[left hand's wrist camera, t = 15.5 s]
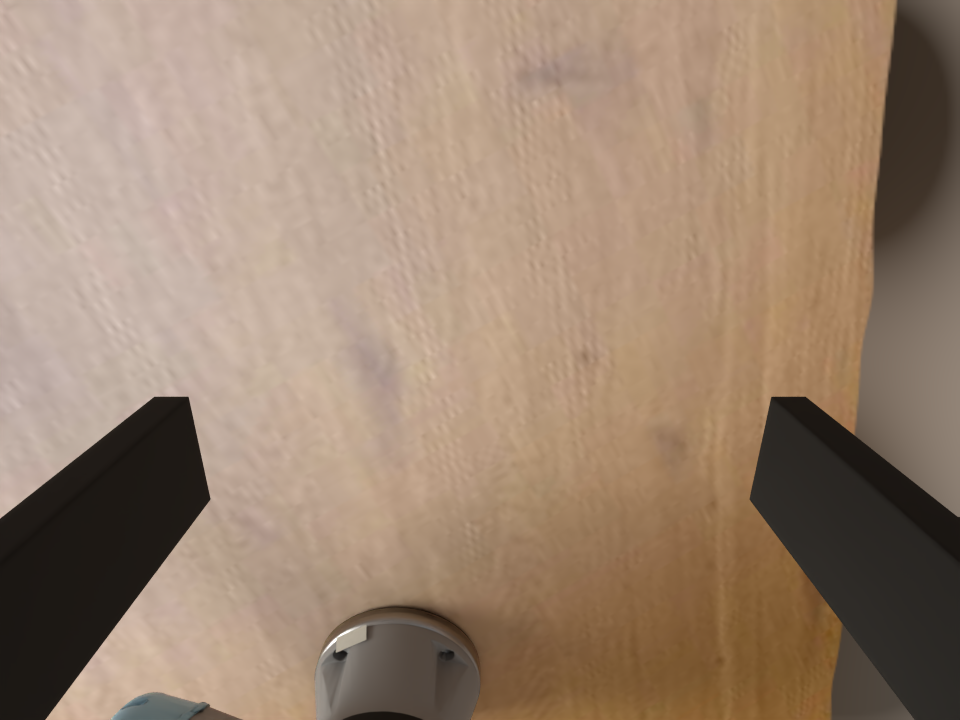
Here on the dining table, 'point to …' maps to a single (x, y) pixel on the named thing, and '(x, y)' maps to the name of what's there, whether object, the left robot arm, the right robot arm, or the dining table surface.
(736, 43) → the dining table surface
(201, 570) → the dining table surface
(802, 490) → the left robot arm
